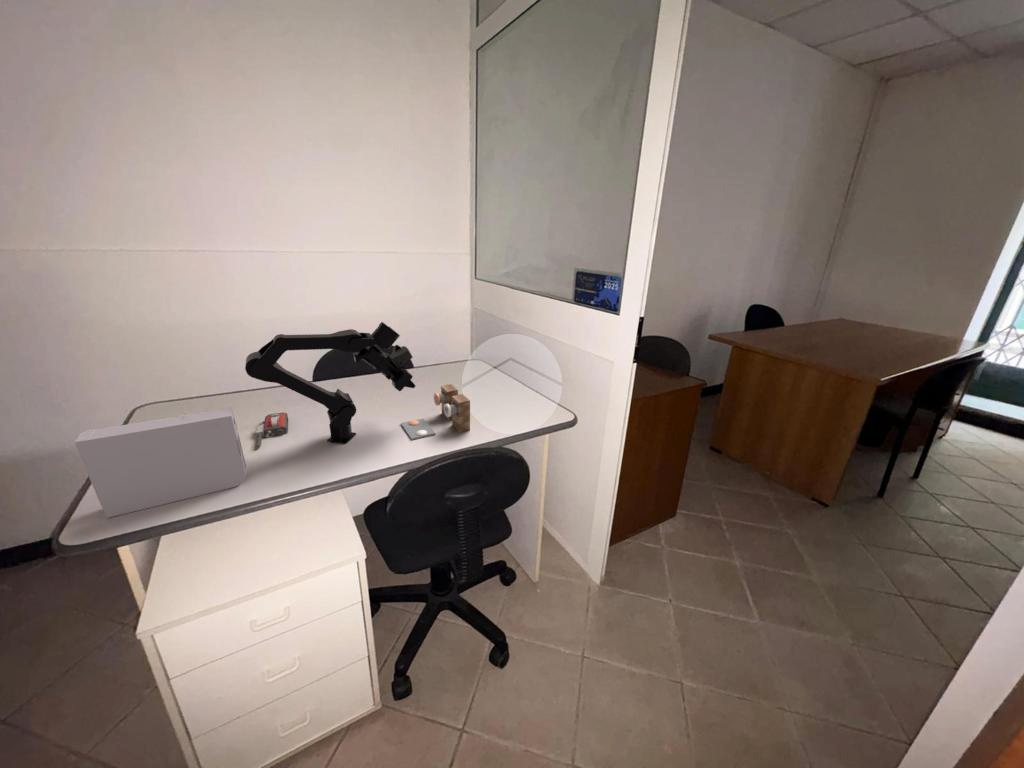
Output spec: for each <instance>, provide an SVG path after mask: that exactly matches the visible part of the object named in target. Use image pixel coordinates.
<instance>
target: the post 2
mask: <svg viewBox="0 0 1024 768" xmlns="http://www.w3.org/2000/svg"><path fill="white" fill-rule="evenodd" d="M453 404H456V405H457V406H458V413H456V414H452V419H451V422H452V424H451V425H452V426H453V428H454V429H455V430H456V431H457V432H458V433H463V432H467V431H471V400H470V399H469V398H468V397H467V396H466V395H464V393H461V394H458V395H455V396H452V405H453Z"/></svg>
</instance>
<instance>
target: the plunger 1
mask: <svg viewBox="0 0 1024 768" xmlns="http://www.w3.org/2000/svg"><path fill="white" fill-rule="evenodd" d="M433 402H434V404H435V406H440V405H441V403H444V402H446V394H445V393H443V394H441V393H440V394H439V393H438V392H435V393H433Z"/></svg>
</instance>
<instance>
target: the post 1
mask: <svg viewBox="0 0 1024 768" xmlns="http://www.w3.org/2000/svg"><path fill="white" fill-rule="evenodd" d="M443 393H445V394H446V402H444V403H440V405H441V414H442V416H443V417H445V419H446V420H447V421H450V420H451V421H452V415H451V416H450V417H447V416H446V415H445V412H444V405H445V404H449V405H452V396H455V395H459V389H458V388H457V387H456V386H454V385H453V384H452V383H450V384H445V385H440V394H443Z"/></svg>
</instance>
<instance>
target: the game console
mask: <svg viewBox="0 0 1024 768" xmlns="http://www.w3.org/2000/svg"><path fill="white" fill-rule="evenodd" d="M233 409H234V408H233V407H232V406H230V407H225V408H220V409H212V410H207V411H206V410H204V411H200V412H192V413H186V414H184V415H179V416H170V417H166V418H160V419H153V420H146V421H140V422H134V423H128V424H127V423H126V424H122V425H115V426H109V427H104V428H98V429H97V428H92V429H87V430H85V431H83V432H80V434H79V435H78V437H77V438H76V439H75V440H74V444H75V447H76V449H77V452H78V455H79V456H80V459H81V461H82V463H83V466H84V468H85V470H86V473H87V475H88V478H89V480H90V482H91V485H92V488H93V490H94V493H95V494H96V498H97V500H98V502H99V505H100V506H101V508H102V511H103V514H104V515H105V518H106V519H109V518H112V517H118V516H120V515H125V514H126V515H127V514H128V513H135V512H137V511H142V510H145V509H150V508H154V507H157V506H163V505H166V504H170V503H174V502H178V501H179V502H180V501H183V500H186V499H190V498H191V499H192V498H196V497H198V496H204V495H207V494H210V493H211V494H212V493H215V492H218V491H219V492H220V491H224V490H227V489H232V488H235V487H239V486H240V485H241V483H243V481H244V480H245V478H246V477H247V462H246V459H245V455H244V450H243V447H242V443H241V438H240V434H239V430H238V427H237V426H238V425H237V421H236V418H235V414H234V410H233Z"/></svg>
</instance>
